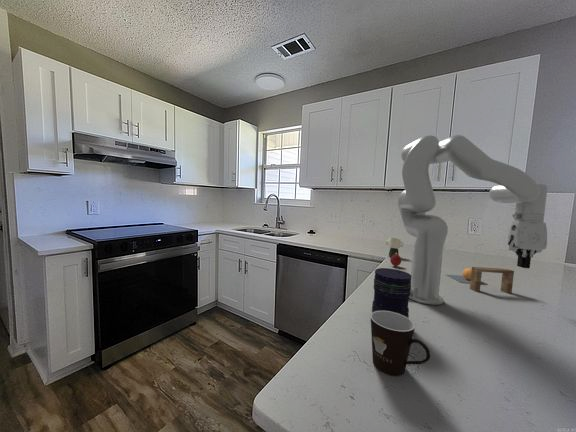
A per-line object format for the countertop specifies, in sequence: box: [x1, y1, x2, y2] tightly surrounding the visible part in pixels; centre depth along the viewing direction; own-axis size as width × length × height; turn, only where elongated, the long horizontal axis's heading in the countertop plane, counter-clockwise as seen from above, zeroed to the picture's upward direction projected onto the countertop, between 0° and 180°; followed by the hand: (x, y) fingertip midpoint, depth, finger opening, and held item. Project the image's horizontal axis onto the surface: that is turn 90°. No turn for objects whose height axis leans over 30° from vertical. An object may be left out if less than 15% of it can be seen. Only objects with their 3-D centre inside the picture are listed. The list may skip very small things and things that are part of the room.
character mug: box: [385, 237, 404, 258], centre depth 157 cm, size 11×7×13 cm, turn 50°
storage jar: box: [371, 267, 411, 319], centre depth 68 cm, size 10×10×15 cm
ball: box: [462, 267, 472, 281], centre depth 113 cm, size 6×6×6 cm
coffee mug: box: [370, 311, 431, 377], centre depth 48 cm, size 12×9×10 cm
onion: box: [389, 253, 402, 268], centre depth 132 cm, size 6×6×8 cm
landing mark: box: [446, 274, 487, 285], centre depth 115 cm, size 12×12×1 cm
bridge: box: [469, 266, 515, 294], centre depth 99 cm, size 3×15×10 cm, turn 87°
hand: (523, 267), depth 86 cm, fingers closed
